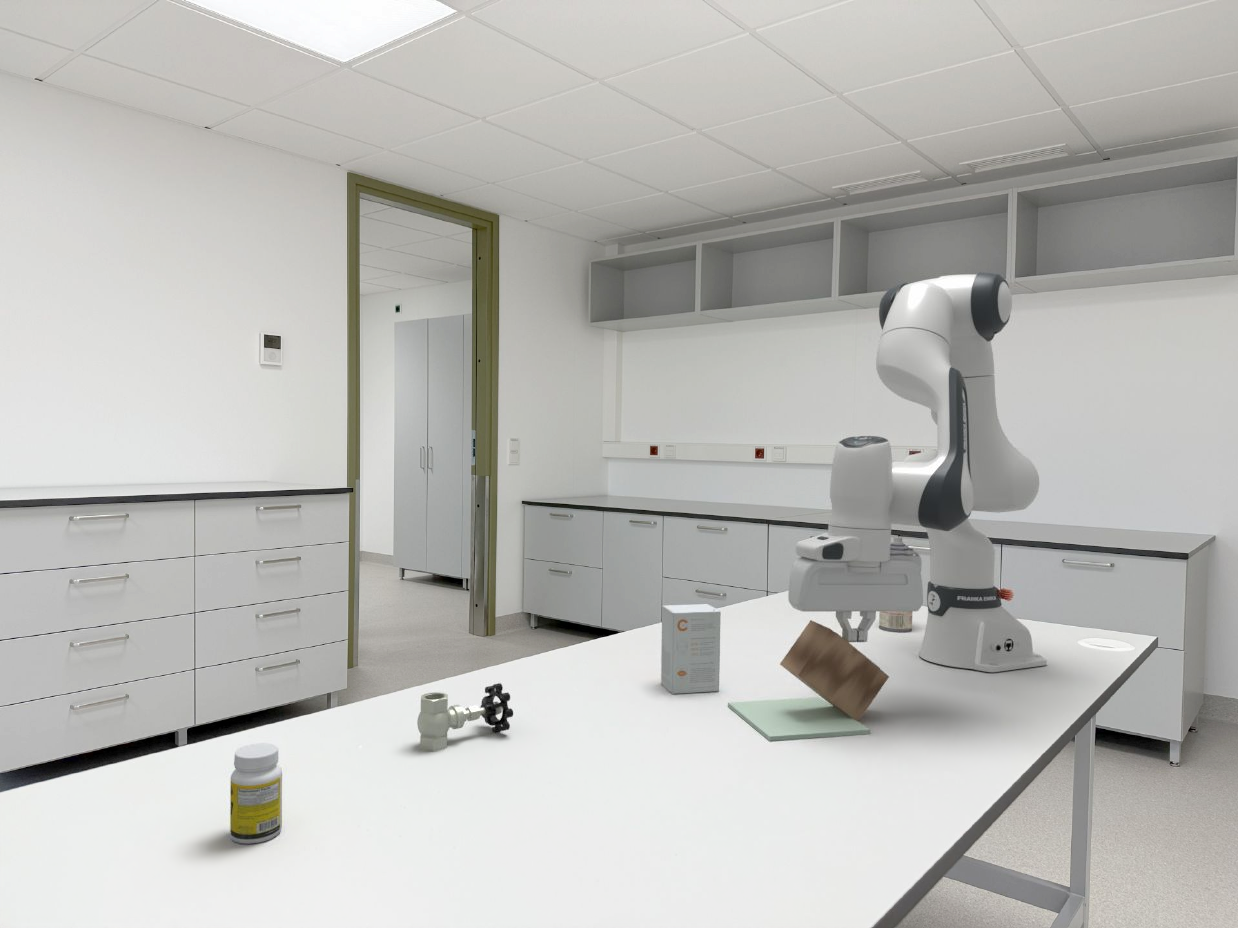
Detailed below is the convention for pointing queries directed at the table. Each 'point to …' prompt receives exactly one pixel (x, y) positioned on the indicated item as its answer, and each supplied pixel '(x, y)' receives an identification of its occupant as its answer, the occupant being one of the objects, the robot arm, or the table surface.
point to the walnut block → (834, 670)
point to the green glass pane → (797, 718)
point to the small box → (690, 648)
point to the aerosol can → (896, 619)
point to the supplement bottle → (256, 794)
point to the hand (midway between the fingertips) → (854, 641)
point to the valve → (459, 716)
